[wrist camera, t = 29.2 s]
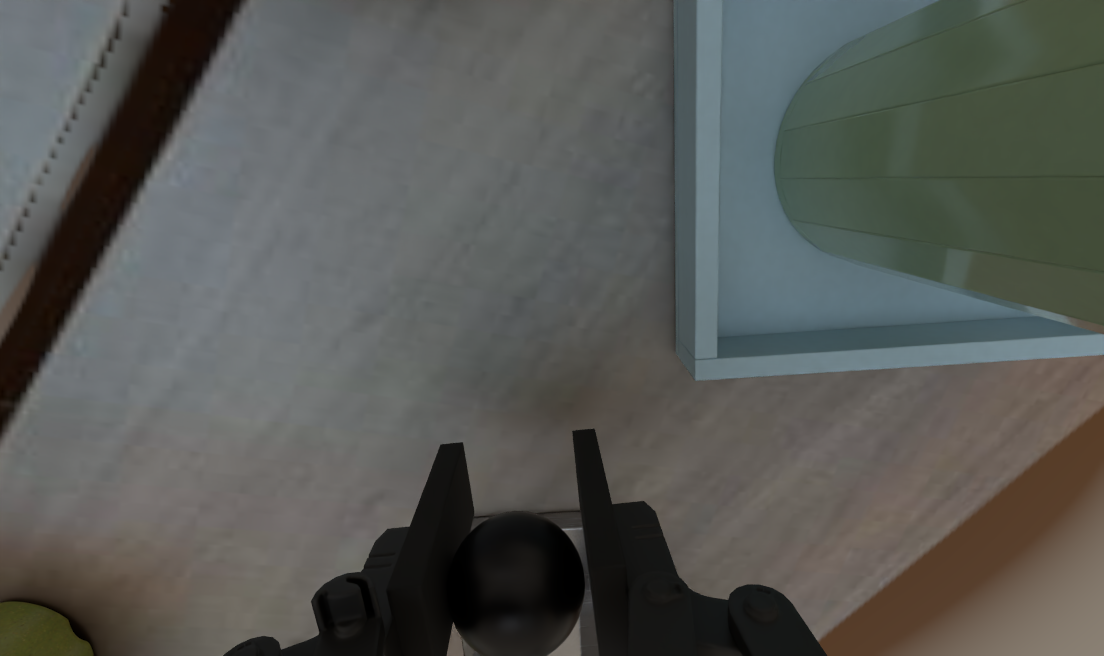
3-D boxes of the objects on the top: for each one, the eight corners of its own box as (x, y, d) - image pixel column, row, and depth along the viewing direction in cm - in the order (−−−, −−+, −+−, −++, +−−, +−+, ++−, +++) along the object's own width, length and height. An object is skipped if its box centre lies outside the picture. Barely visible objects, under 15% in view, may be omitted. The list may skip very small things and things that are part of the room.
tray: (672, -58, 18) (697, -106, 15) (1147, -97, 17) (1271, -155, 14) (675, 353, 22) (694, 381, 19) (1061, 328, 21) (1144, 352, 18)
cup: (783, 32, 18) (1326, -320, 5) (1021, 22, 18) (2154, -361, 5) (765, 266, 20) (1119, 410, 7) (977, 258, 20) (1699, 392, 7)
